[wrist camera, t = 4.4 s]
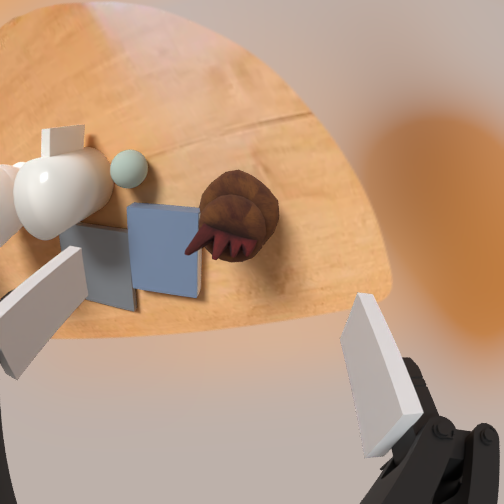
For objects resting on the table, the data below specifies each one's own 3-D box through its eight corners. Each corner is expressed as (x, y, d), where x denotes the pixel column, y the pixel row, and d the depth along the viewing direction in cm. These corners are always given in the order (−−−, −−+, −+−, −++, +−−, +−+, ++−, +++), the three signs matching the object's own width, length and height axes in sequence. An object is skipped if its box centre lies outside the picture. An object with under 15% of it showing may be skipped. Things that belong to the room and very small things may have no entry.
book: (140, 278, 35) (133, 288, 33) (135, 201, 31) (126, 207, 29) (201, 287, 35) (197, 298, 33) (204, 206, 31) (199, 213, 29)
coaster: (72, 291, 37) (69, 294, 36) (62, 219, 32) (57, 222, 31) (137, 307, 37) (134, 311, 36) (132, 230, 32) (128, 233, 31)
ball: (121, 182, 30) (102, 191, 26) (122, 147, 28) (103, 151, 24) (152, 185, 30) (137, 194, 26) (154, 148, 28) (138, 152, 24)
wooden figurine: (201, 198, 30) (144, 263, 16) (235, 155, 28) (198, 184, 14) (252, 237, 31) (236, 327, 18) (288, 197, 29) (300, 263, 16)
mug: (64, 208, 32) (18, 234, 23) (63, 125, 27) (11, 133, 19) (114, 215, 31) (70, 245, 23) (116, 123, 27) (66, 127, 19)
